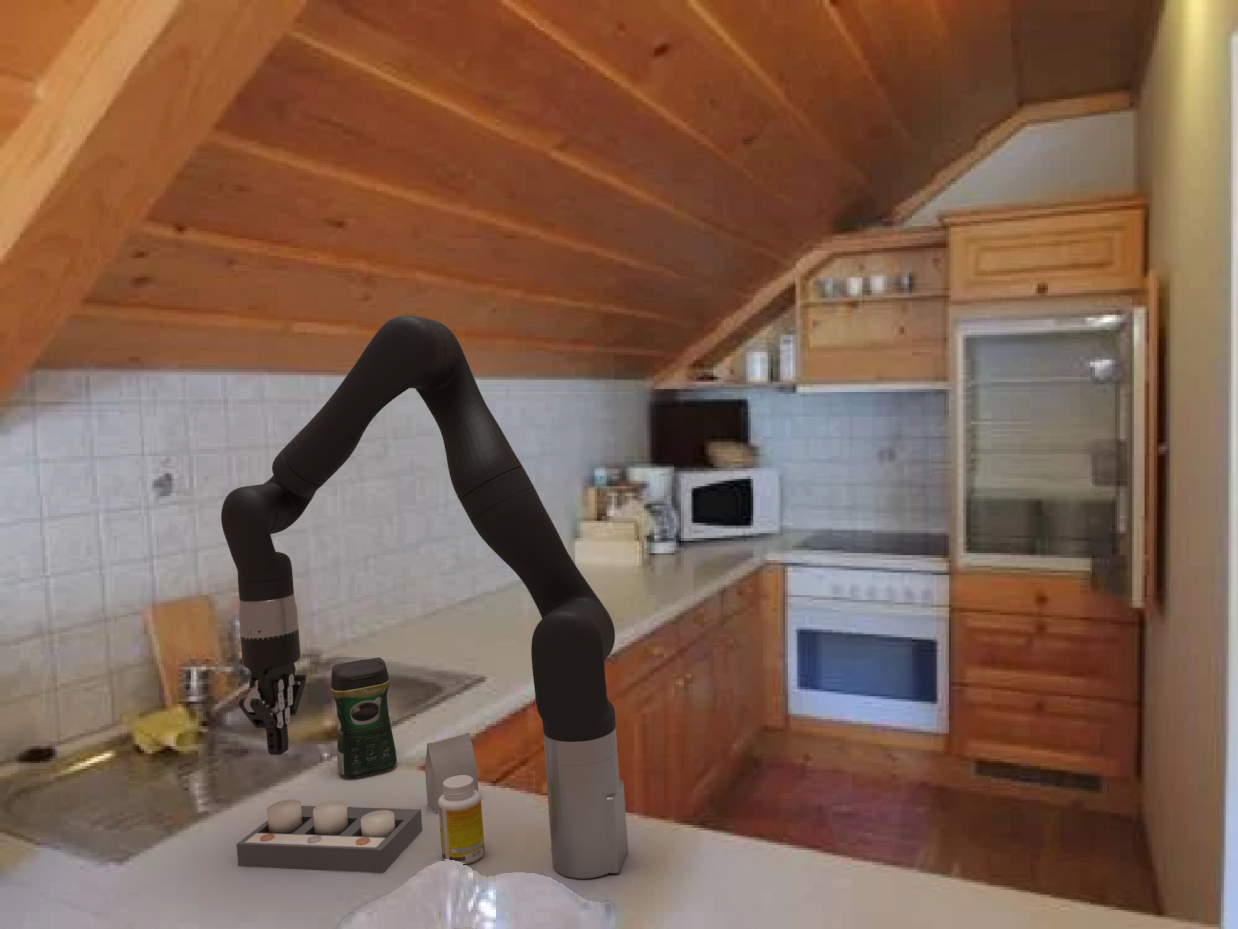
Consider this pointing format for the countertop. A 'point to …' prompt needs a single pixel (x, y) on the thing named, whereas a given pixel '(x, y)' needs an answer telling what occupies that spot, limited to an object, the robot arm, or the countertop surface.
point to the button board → (330, 844)
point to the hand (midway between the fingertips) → (278, 752)
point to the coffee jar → (363, 718)
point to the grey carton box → (448, 765)
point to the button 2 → (378, 824)
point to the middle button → (330, 818)
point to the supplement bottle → (461, 820)
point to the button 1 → (284, 816)
